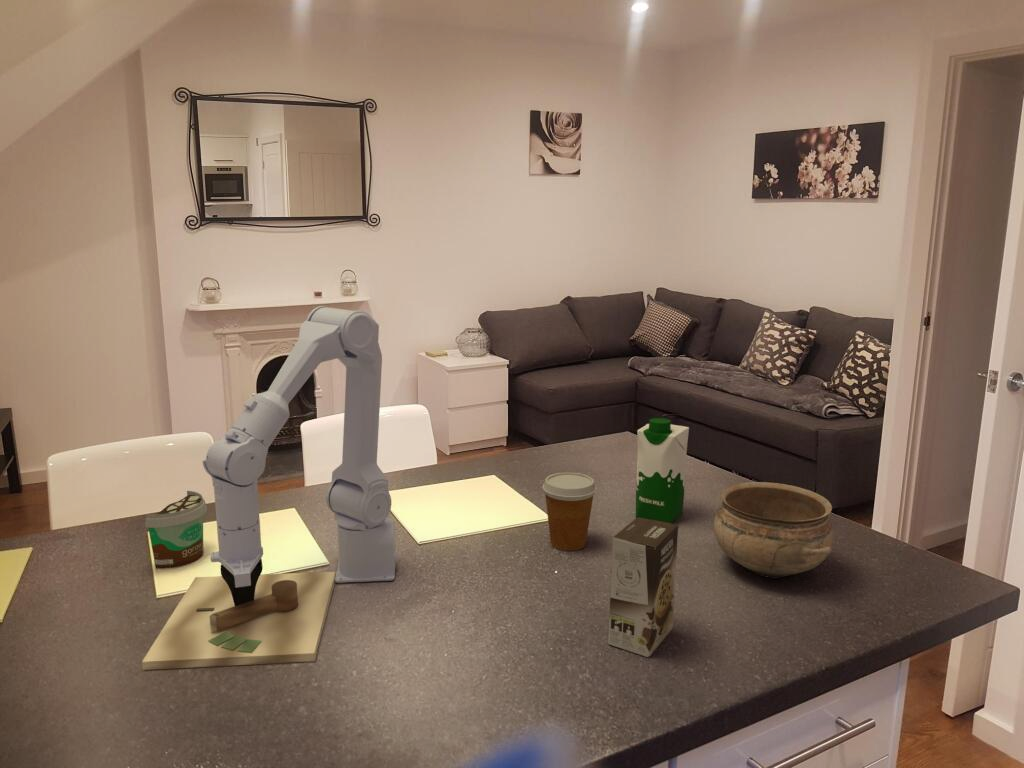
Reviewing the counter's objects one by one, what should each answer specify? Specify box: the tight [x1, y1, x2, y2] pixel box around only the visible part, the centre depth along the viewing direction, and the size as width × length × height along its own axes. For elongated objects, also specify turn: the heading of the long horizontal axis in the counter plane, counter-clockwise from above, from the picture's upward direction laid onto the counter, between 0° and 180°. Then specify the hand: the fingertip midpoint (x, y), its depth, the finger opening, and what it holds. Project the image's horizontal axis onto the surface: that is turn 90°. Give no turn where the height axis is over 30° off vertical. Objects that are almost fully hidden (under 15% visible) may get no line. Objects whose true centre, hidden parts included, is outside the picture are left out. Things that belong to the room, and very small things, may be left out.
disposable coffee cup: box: [541, 472, 597, 552], centre depth 141 cm, size 10×10×12 cm
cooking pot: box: [713, 481, 835, 578], centre depth 131 cm, size 25×19×12 cm
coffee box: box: [607, 517, 679, 658], centre depth 110 cm, size 9×6×16 cm
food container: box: [144, 490, 208, 570], centre depth 134 cm, size 12×6×10 cm, turn 168°
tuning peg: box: [210, 580, 298, 631], centre depth 113 cm, size 13×4×3 cm, turn 132°
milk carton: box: [635, 417, 690, 524], centre depth 152 cm, size 9×9×20 cm
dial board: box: [141, 571, 337, 671], centre depth 115 cm, size 22×24×1 cm
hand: (244, 610), depth 114 cm, fingers closed, pressing on tuning peg
